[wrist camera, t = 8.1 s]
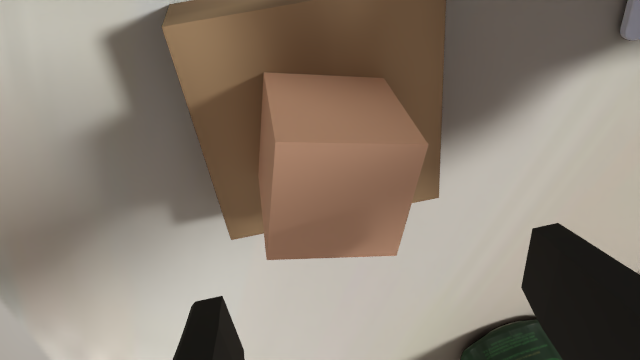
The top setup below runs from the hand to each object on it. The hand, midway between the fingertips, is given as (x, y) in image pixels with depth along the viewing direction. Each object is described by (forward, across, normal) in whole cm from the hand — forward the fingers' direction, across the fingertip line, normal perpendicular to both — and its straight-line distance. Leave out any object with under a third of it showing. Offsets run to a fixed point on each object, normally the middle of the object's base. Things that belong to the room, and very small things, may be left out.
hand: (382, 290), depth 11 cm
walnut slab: (+11, 0, 0) cm, 11 cm away
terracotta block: (+8, 0, 0) cm, 8 cm away
